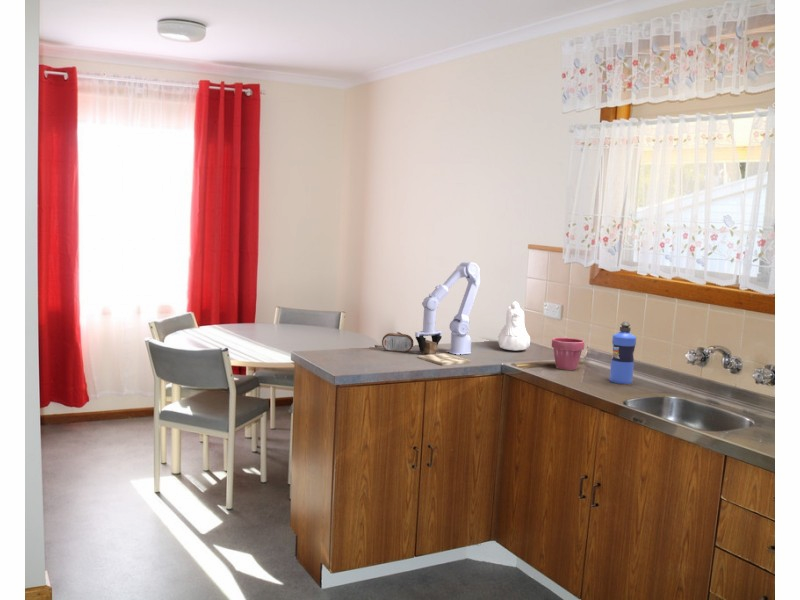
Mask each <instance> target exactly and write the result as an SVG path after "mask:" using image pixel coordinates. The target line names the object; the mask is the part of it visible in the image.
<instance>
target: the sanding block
mask: <svg viewBox="0 0 800 600" xmlns="http://www.w3.org/2000/svg"><path fill="white" fill-rule="evenodd" d="M437 350H438V346H437V343H436V342H432V340H428V339H426V340H425V343H424V351H423V352H421V351H420V349H419V352H421V353H420V354H422V353H424V354H423V355H425V354H427V355H431V354H437Z"/></svg>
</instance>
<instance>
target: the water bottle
mask: <svg viewBox="0 0 800 600" xmlns="http://www.w3.org/2000/svg"><path fill="white" fill-rule="evenodd" d="M630 326H631V324H630V322H628V321H623V322H622V323H620V326H619V332H618V333H615V334H612V340H611V342H612V355H611V359H610V370H609V382H611V383H616V384H620V385H630V384H633V377H634V366H635V365H634V363H635V362H634V361H635V358H634V354H635V348H636V345H637V336H635V335H633V334H632V333H631V329H632V327H630Z"/></svg>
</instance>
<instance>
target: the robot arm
mask: <svg viewBox="0 0 800 600" xmlns="http://www.w3.org/2000/svg"><path fill="white" fill-rule="evenodd" d="M480 272H481V268H480V267H479V265H478V264H477V263H476V262H470V261H467V260H465V261H462V262H460V264H458V265H457V266H456V268H455V270H454V271H453V272H452V273H451V274H450V276H449V277H448V278H447V279H446V281H444V283H443V284H439V285H436V286H435V287H434V288H435V289H434V290H433V291H432V292H431V293H429V294H428V296H425V298H423V301H422V302H421V305H422V306H423V319H422V320H423V321H422V322H423V323H422V330H421V331H415V332H414V333H415V334H414V336H415V339H416V342H417V344H418V348H419V350H420V351H421V352H423V351H424V343H425V340H427V338H426V337H428V336H429V337H431V341H432V342H436V343H437V347H438V346H439V343H440V341H441V340H442V336H443V330H436V322H437V321H436V318H437V316H436V315H437V308H439V305H440V302H441V301H443V300H444V298H445V297H446V296H447V295H448V294H449V290H450V288H452V286H454V284H455V283H457V282H458V280H460V279H462V278H465V279H466V281H467V286H466V289H465V291H464V294H463V297H462V301H461V303H460V305H459V309H458V312H457V314H455V316H454V317H453V319H452V320H451V321H450V323H449V330H450V331H451V333H450V334H451V335H450V349H449V350H446V351H445V352H446V353H448V352H449V353H448V354H451V355H455V354H456V355H455V356H459V355H460V354H461V355H471V354H472V352H471V349H472V339H471V336H470V335H469V334H468V332H469V331H470V318H469V316H470V315H471V311H472V308H473V305H474V302H475V300H476V296H477V294H478V291H479V288H480V285H481V276H480V275H481V274H480Z"/></svg>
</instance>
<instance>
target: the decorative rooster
mask: <svg viewBox="0 0 800 600" xmlns="http://www.w3.org/2000/svg"><path fill="white" fill-rule="evenodd" d="M506 311H507V312H506V320H505V324H504V326H503V327H502V329H501V330H500V332H499V335H498V337H497V338H498V345H499V348H501V349H503V350H506V351H516V352H517V351H524V350H526V349H528V348H529V347H530V345H531V344H530V343H531V336H530V335H529V333H528V332H527V329H526V326H525V324H526V323H525V312H524V310H523V309H522V308H521V307H520V303H519V302H517V301H516V300H515V301H513V302H511V305H509V306H508V307H507V310H506Z"/></svg>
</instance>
